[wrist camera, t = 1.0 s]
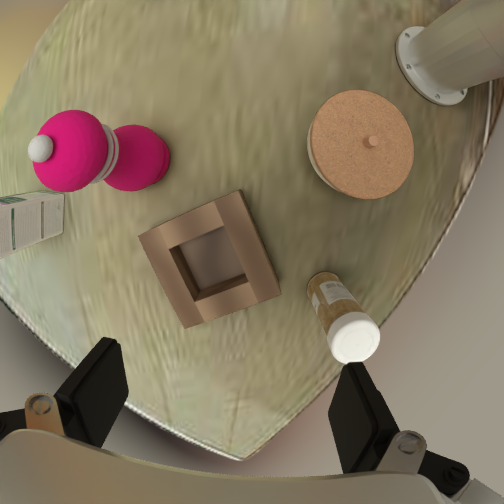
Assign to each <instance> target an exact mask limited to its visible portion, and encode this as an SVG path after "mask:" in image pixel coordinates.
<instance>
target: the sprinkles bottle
mask: <svg viewBox="0 0 504 504" xmlns="http://www.w3.org/2000/svg"><path fill="white" fill-rule="evenodd" d="M307 294H308V297H309V299H310V301H311V302H312V304H313V307H314V309H315V311H316V314H317V316H318V318H319V320H320V323H321V325H322V326H323V328H324V330H325V333H326V335H327V342H328V345H329V348H330V350H331V352H332V354H333V356H334V357H335V358H336V359H337V360H338V361H339V362H342V363H345V364H348V362H362V361H363V360H366V359H367V358H368V357H370V356H371V355H372V354H373V353H374V352H375V350H376V349H377V347H378V344H379V341H380V332H379V329H378V327H377V325H376V324H375V322H374V321H373V320H372V319H371V317H370V316H368V315H367V314H365V313H364V311H363V310H362V309H361V307H360V305H359V304H358V302H357V301H356V300H355V299H354V297H353V296H352V295H351V293H350V292H349V291H348V290H347V289H346V287H345V286H344V285H343V284H342V283H341V281H340V279H339V278H338V277H337V276H336V275H335V274H333V273H329V272H322V273H319V274H317V275H315V276H314V277H313V278H312V279H311V280H310V281H309V283H308V287H307Z"/></svg>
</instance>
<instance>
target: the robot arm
mask: <svg viewBox="0 0 504 504" xmlns="http://www.w3.org/2000/svg"><path fill="white" fill-rule="evenodd" d="M396 56H397V60H398V63H399V65H400V68H401V70H402V72H403V74H404V75H405V77H406V78H407V80H408V81H409V82H410V84H411V85H412V86H413V87H414V88H415V89H416V90H417V91H418V92H419V93H420V94H421V95H422V96H424V97H425V98H426V99H428V100H430V101H431V102H433V103H436V104H438V105H443V106H450V105H454V104H457V103H459V102H461V101H462V100H463V99H464V97H465V95H466V93H467V89H468V88H469V87H472V86H475V85H478V84H481V83H484V82H487V81H490V80H494V79H497V78H500V77H503V76H504V0H461V1H460V2H459V3H457V4H456V5H455V6H453V7H452V8H451V9H449V10H448V11H447V12H445V13H444V14H443V15H441V16H440V17H439V18H437V19H436V20H435V21H433V22H432V23H431V24H430V25H428V26H427V27H426V28H425V27H420V26H414V27H409V28H407V29H405V30H404V31H403V32H402V33H401V34H400V35H399V37H398V39H397V41H396ZM128 393H129V390H128V385H127V380H126V374H125V369H124V363H123V357H122V351H121V345H120V344H119V343H117V341H116V340H115V339H112V338H107V337H103V338H102V339H101V340H100V341H99V342H98V343H97V344H96V345H95V347H94V348H93V349H92V350H91V351H90V352H89V353H88V355H87V356H86V357H85V358H84V359H83V360H82V362H81V363H80V364H79V365H78V366H77V367H76V369H75V370H74V371H73V372H72V373H71V375H70V376H69V377H68V378H67V379H66V381H65V382H64V383H63V384H62V385H61V387H60V388H59V389H58V391H57V392H56V393H55V394H54V396H52V395H50V394H48V393H36V394H33V395H31V396H30V397H29V398H28V399H27V400H26V402H25V408H24V409H19V410H14V411H8V412H2V413H0V504H504V498H503V497H502V496H501V495H499V494H498V493H496V492H494V491H493V490H492V489H490V488H489V487H487V486H485V485H484V484H483V483H481V482H480V481H478V480H477V479H475V478H474V479H473V480H471V479H469V477H470V474H469V471H468V469H467V467H466V466H464V465H463V464H462V463H459V462H456V461H454V460H451V459H448V458H446V457H443V456H440V455H438V454H435V453H433V452H430V451H428V450H426V448H427V444H426V440H425V439H424V438H423V436H421V435H420V434H418V433H417V432H414V431H410V430H407V431H401V432H400V430H399V428H398V426H397V424H396V422H395V420H394V418H393V416H392V414H391V412H390V410H389V408H388V406H387V405H386V402H385V400H384V398H383V396H382V395H381V393H380V392H379V391H378V390H377V389H376V387H375V385H374V383H373V381H372V379H371V377H370V375H369V373H368V372H367V370H366V368H365V366H364V364H363V363H362V362H348V364H347V365H344V366H343V368H342V372H341V375H340V378H339V381H338V385H337V387H336V390H335V393H334V396H333V399H332V402H331V405H330V408H329V411H328V417H329V421H330V425H331V428H332V432H333V436H334V440H335V443H336V447H337V451H338V455H339V459H340V463H341V467H342V470H343V474H339V475H327V476H310V477H253V476H236V475H224V474H215V473H208V472H200V471H193V470H187V469H181V468H176V467H170V466H165V465H161V464H156V463H152V462H148V461H144V460H139V459H135V458H132V457H128V456H125V455H121V454H118V453H115V452H111V451H108V450H105V449H101V447H102V445H103V443H104V441H105V439H106V437H107V435H108V433H109V432H110V430H111V428H112V426H113V424H114V422H115V420H116V418H117V416H118V414H119V412H120V410H121V409H122V407H123V405H124V403H125V401H126V399H127V397H128Z"/></svg>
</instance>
